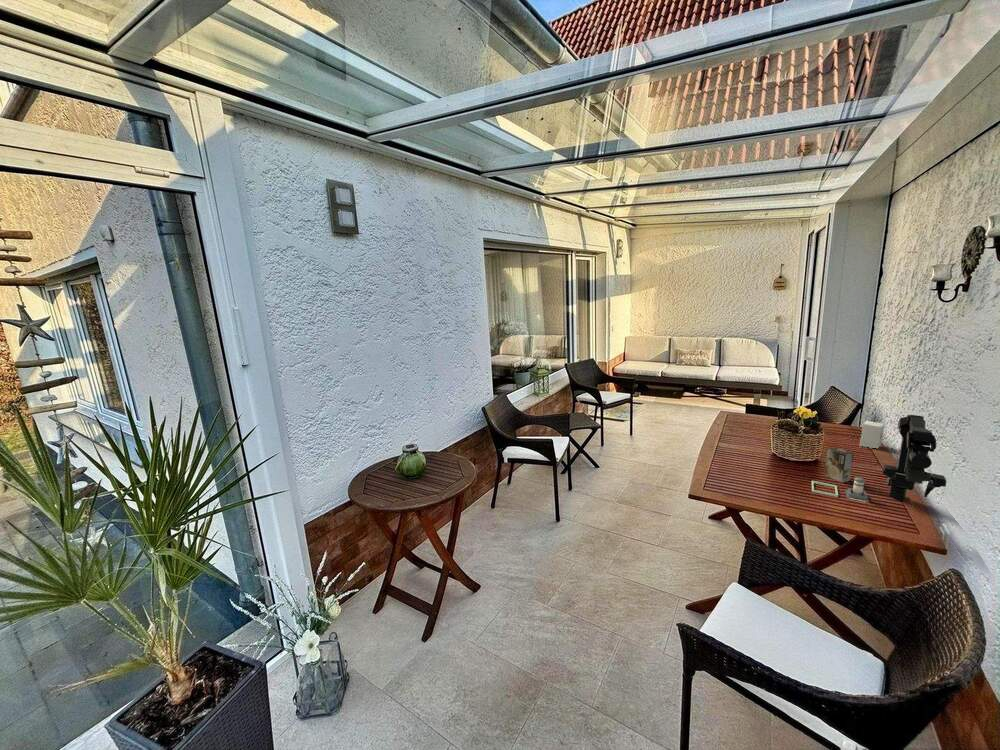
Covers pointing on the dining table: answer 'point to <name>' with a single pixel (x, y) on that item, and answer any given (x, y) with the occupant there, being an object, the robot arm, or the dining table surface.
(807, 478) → the dining table surface
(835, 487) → the pale green rectangular frame
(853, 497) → the socket block
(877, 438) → the supplement box
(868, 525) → the dining table surface
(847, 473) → the coffee box
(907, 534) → the dining table surface
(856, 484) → the banded cream cylinder
